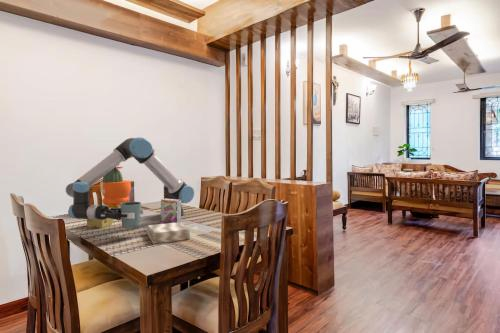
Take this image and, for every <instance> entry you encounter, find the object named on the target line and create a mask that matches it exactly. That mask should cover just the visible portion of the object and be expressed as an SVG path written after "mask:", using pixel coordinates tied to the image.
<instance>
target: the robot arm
mask: <svg viewBox="0 0 500 333" xmlns="http://www.w3.org/2000/svg"><path fill="white" fill-rule="evenodd" d="M155 153H156V151H155V149H154V148H153V145H152V143H151V141H149V140H148V139H147V138H144V137H140V136H139V137H131V138H126V139H125V140H123V141H122V142H121V143H120V144H118V146H116V147H115V148H113V151H112V152H111V153H110V154H109V155H107V156H106V157H105V158H103V159H102V160H101V161H100V162H98V163H97V164H96V165H95V166H93V167H92V168H90V169H89V170H88V171H86V173H84V174H83V175H82V176H80V177H79V178H77V179H76V180H75V181H74V182H70V183H68V184H67V185H66V187H65V193H66V194H67V196H68V197H71V198H72V199H73V204H71V205H70V206H69V207H68V210H67V214H68V216H69V218H71V219H77V220H87V219H93V220H95V219H99V220H105V219H107V218H110V219H113V220H118V221H120V220H121V221H122V219H121V218H129V219H134V213H121V208H115V209H114V208H110V209H109V208H108V206H106V205H105V204H103V205H102V204H90V188H91V187H92V186H93V185H94V184H96V183H97V182H98V181H100V180H101V179H103V176H105V175H106V174H107V173H108V172H110V171H111V170H112V169H113V168H115V167H118V166H119V165H120V164H121V163H122V162H123V163H124V162H126V161H127V160H129V159H131V158H133V159H135V160H136V162H138V163H139V164H141V165H144V166H146V168H147V169H148V170H149V171H150V172H151V173H152V174H153V175H154V176H155V177H156V178H157V179H158V180H159V181H161V183H162V184H163V199H176V200H181V215H182V216H183V215H185V214H184V213H185V212H184V208H183V205H182V204H188V203H190V202H192V200H194V197H195V189H194V187H193V186H191V185H188V184H187V183H186V182H185V181H184V180H183V179H179V178H177V176H176V175H175V174H174V173H173V172H172V171H171V170H170V169H169V168H168V167H167V166H166V165H165V164H164V162H162V160H161V159H160V158H159V157H158V156H157V155H156V154H155ZM118 164H119V165H118ZM117 165H118V166H117ZM140 215H145V209H143V208H141V211H140Z"/></svg>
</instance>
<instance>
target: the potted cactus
mask: <svg viewBox="0 0 500 333" xmlns="http://www.w3.org/2000/svg"><path fill="white" fill-rule="evenodd" d="M122 168H123V166H120V164H118V165H117V166H116V167H115V168H113V169H112V170H111V171H110V172H108V173H107V174H106V175H105V176H103V177H102V180H101V181H100V183H99V191H100V193H101V194H102V196H103V198H102V200H101V202H102V204H103V205H106V206H108V208H114V209H115V208H121V207H120V204H121V203H124V202H130V197H129V196H130V193H131V188H132V184H131V181H130V180H124V177H123V174H122V171H121V170H120V169H122Z"/></svg>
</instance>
